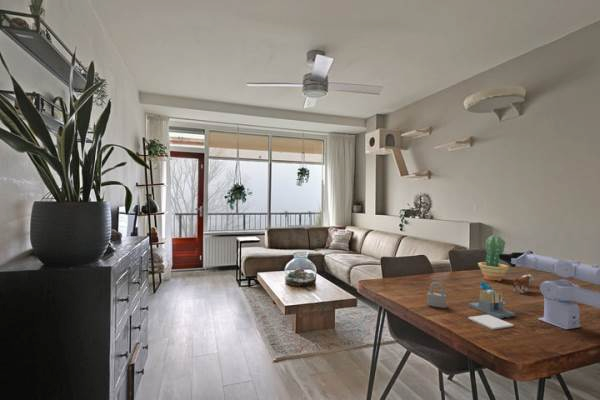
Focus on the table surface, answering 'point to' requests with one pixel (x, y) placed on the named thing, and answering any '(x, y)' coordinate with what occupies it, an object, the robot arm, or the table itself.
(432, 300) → the padlock
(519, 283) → the bull figurine
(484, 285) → the gear
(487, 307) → the vise
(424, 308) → the table surface
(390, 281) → the table surface
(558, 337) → the table surface
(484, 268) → the potted cactus
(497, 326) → the mat
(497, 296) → the sleeve
